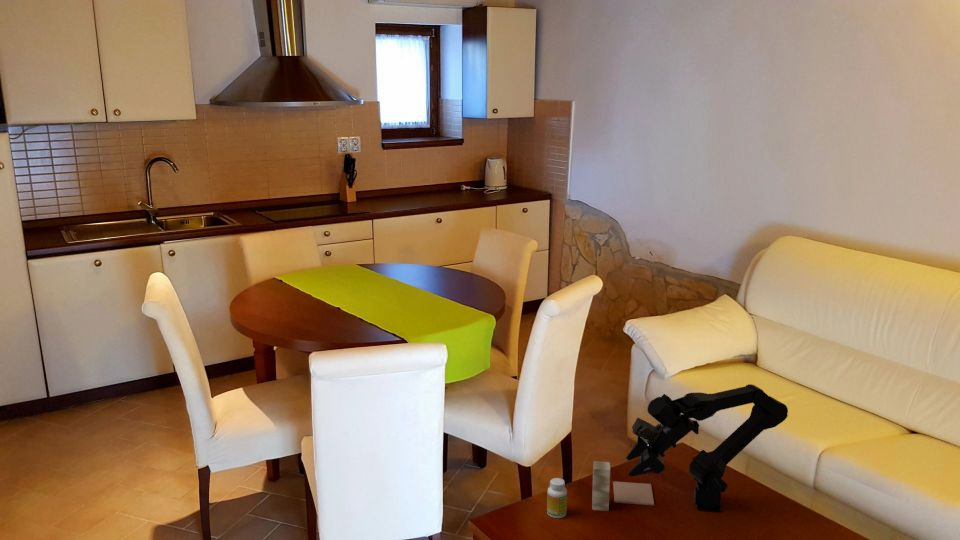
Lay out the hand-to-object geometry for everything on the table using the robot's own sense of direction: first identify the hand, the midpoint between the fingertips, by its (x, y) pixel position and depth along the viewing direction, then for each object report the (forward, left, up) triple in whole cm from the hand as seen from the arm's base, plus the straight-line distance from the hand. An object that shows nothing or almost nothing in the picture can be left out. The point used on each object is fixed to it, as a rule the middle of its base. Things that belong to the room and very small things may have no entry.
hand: (628, 466), depth 200 cm
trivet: (-2, -8, -13) cm, 15 cm away
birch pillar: (+7, 0, -13) cm, 15 cm away
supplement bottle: (+19, +5, -13) cm, 24 cm away
